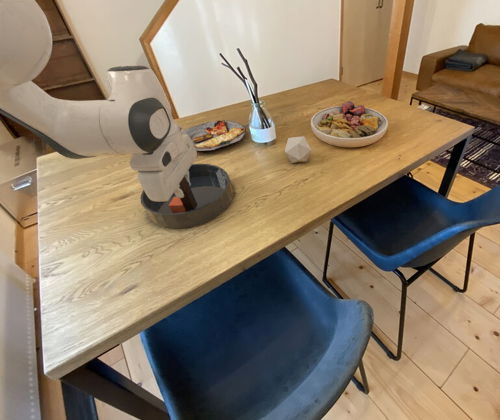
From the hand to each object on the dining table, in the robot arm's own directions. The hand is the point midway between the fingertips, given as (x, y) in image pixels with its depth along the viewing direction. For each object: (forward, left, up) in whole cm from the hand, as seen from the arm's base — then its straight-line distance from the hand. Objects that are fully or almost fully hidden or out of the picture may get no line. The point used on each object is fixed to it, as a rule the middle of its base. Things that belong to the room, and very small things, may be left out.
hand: (184, 191), depth 71 cm
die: (+34, -18, -8) cm, 39 cm away
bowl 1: (+5, +4, -8) cm, 10 cm away
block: (-1, +3, -7) cm, 7 cm away
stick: (0, 0, -6) cm, 6 cm away
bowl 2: (+59, -30, -8) cm, 66 cm away
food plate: (+39, +19, -8) cm, 44 cm away
